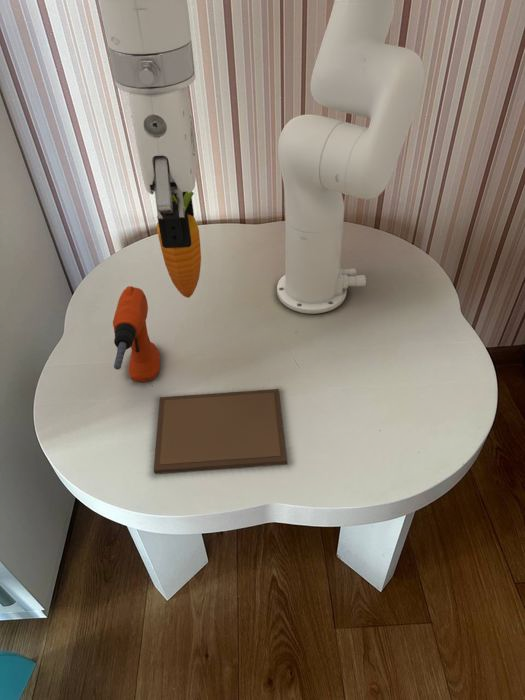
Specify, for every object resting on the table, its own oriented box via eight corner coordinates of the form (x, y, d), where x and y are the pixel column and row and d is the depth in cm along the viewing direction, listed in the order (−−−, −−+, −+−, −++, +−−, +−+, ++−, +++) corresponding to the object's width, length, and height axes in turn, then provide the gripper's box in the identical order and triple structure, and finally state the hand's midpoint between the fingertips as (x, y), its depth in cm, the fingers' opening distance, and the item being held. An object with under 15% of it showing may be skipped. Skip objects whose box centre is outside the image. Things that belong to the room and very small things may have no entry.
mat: (278, 392, 86) (278, 388, 85) (286, 464, 77) (286, 460, 76) (160, 400, 86) (159, 396, 85) (154, 473, 76) (153, 469, 76)
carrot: (210, 286, 73) (198, 179, 63) (203, 310, 70) (189, 202, 59) (173, 284, 74) (155, 177, 63) (164, 308, 70) (143, 200, 60)
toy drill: (116, 435, 79) (92, 351, 70) (133, 354, 94) (115, 275, 85) (151, 433, 79) (132, 348, 70) (162, 352, 94) (148, 273, 85)
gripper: (188, 96, 46) (209, 275, 59) (197, 34, 59) (213, 194, 71) (97, 100, 46) (137, 278, 59) (125, 37, 58) (153, 196, 71)
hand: (178, 230), depth 65 cm, fingers closed on carrot, 4 cm apart
